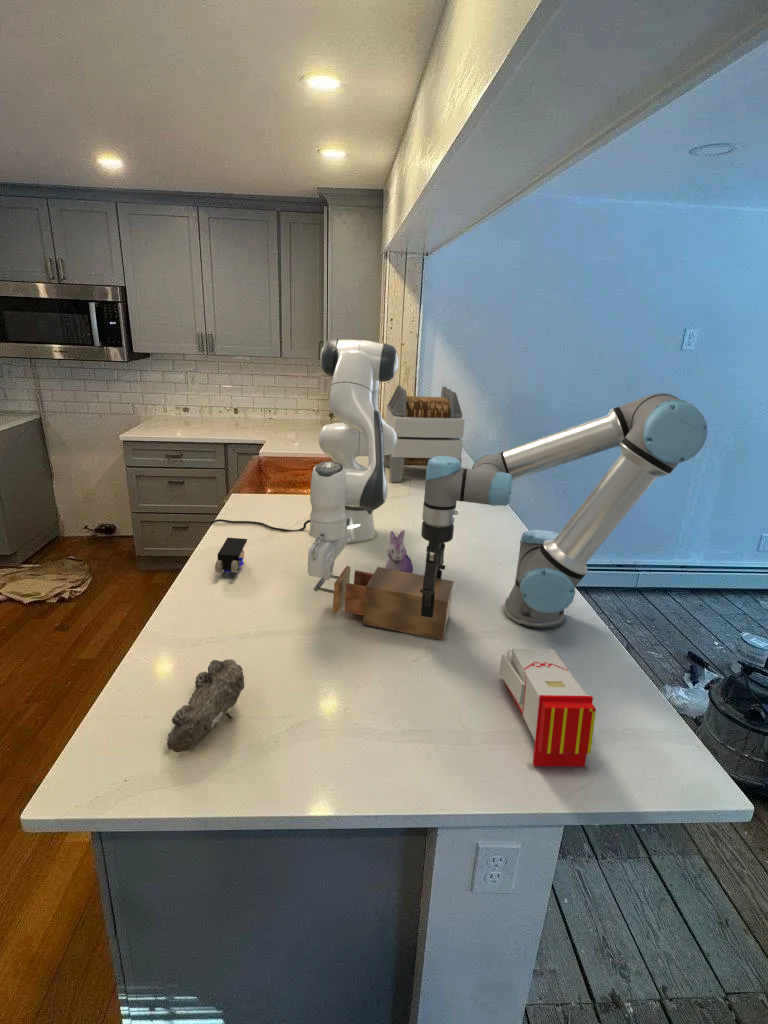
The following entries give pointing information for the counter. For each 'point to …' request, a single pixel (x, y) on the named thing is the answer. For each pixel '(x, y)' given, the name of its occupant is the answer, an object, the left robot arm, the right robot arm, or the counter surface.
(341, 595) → the drawer
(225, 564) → the black toy rover
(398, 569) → the figurine
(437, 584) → the cabinet
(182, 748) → the fossil
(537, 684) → the toy
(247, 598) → the counter surface
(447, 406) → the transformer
